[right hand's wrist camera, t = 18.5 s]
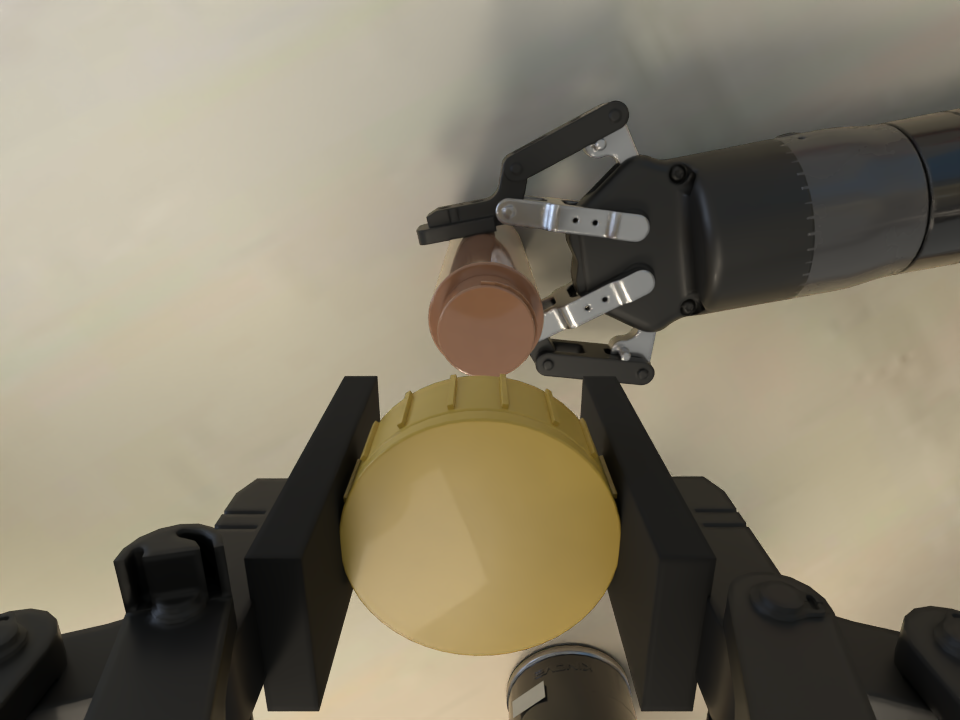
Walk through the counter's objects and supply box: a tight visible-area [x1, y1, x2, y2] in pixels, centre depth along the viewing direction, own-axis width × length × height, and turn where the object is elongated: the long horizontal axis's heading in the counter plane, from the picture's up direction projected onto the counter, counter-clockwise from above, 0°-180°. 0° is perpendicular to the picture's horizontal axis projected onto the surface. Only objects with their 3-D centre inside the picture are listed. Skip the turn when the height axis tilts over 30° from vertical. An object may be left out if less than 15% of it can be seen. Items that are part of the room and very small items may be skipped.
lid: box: [339, 374, 621, 656], centre depth 11 cm, size 5×5×2 cm
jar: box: [428, 225, 544, 377], centre depth 29 cm, size 4×4×16 cm
